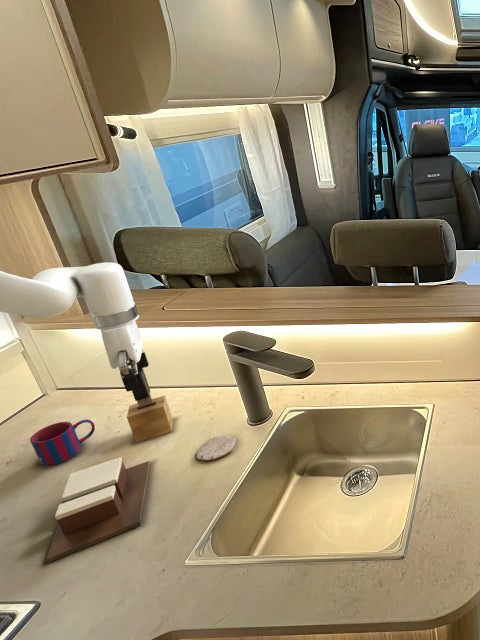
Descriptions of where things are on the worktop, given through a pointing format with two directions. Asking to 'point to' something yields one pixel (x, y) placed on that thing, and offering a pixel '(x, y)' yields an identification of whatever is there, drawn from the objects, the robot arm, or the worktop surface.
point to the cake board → (110, 526)
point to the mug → (58, 442)
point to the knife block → (150, 419)
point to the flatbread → (216, 447)
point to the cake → (96, 479)
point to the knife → (143, 393)
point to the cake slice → (88, 509)
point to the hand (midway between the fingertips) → (138, 378)
